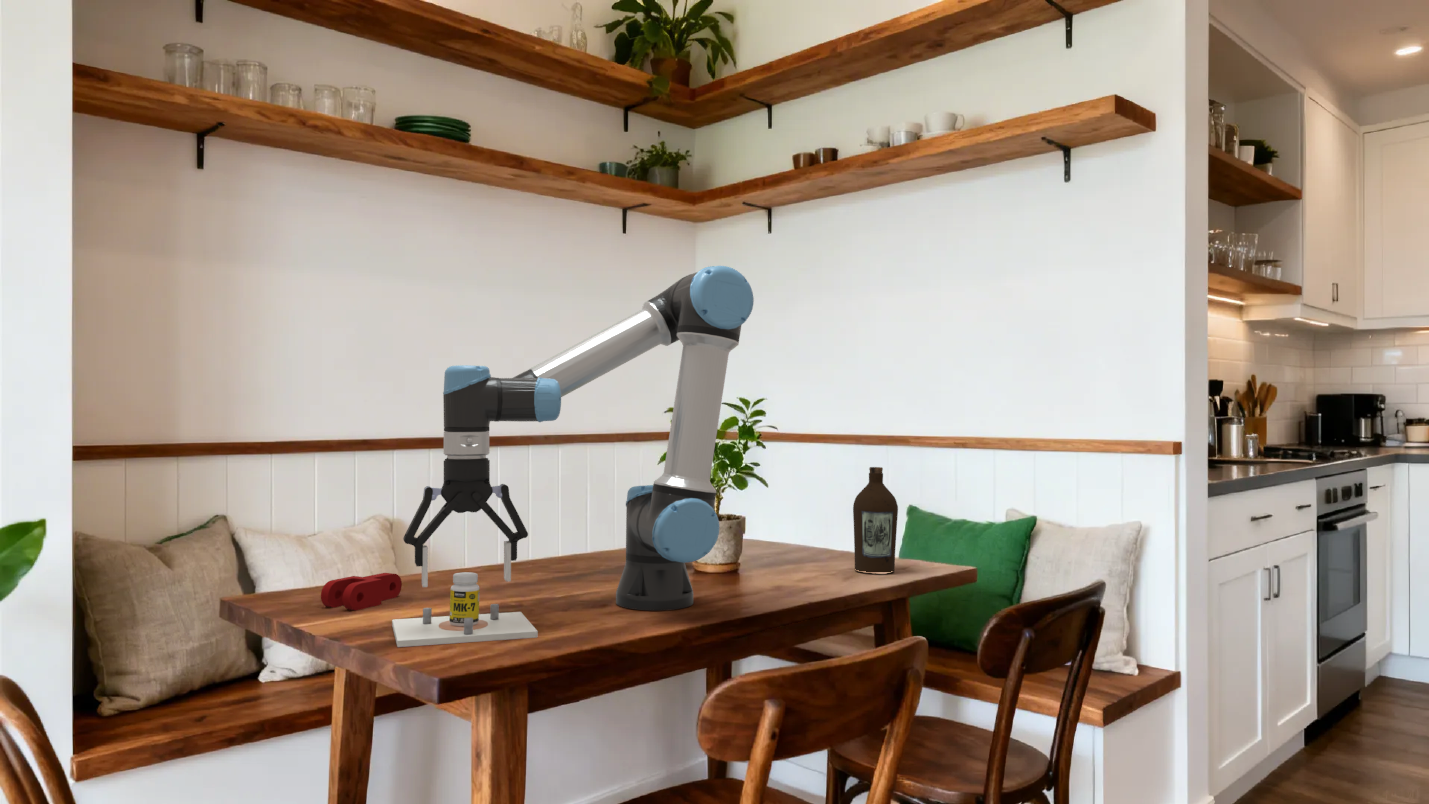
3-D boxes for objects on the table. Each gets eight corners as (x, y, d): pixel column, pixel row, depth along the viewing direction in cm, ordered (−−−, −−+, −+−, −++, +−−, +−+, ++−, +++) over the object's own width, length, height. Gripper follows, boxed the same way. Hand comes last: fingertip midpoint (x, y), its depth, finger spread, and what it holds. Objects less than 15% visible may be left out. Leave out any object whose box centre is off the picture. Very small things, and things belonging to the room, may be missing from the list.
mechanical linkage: (349, 613, 174) (350, 585, 175) (320, 609, 177) (321, 582, 177) (410, 598, 189) (411, 573, 189) (383, 594, 192) (383, 570, 192)
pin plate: (520, 617, 172) (520, 597, 172) (537, 637, 158) (538, 616, 158) (392, 625, 164) (392, 604, 164) (397, 647, 149) (397, 624, 150)
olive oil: (850, 567, 235) (851, 465, 235) (893, 568, 234) (895, 466, 234) (854, 574, 224) (856, 468, 224) (900, 576, 224) (901, 469, 224)
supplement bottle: (449, 627, 158) (450, 576, 158) (449, 621, 163) (450, 572, 163) (479, 626, 159) (480, 576, 159) (478, 620, 164) (479, 571, 164)
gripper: (389, 459, 153) (389, 592, 153) (544, 456, 162) (544, 581, 162) (387, 457, 160) (387, 584, 160) (536, 454, 169) (536, 574, 169)
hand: (466, 583), depth 161 cm, fingers open, 13 cm apart
